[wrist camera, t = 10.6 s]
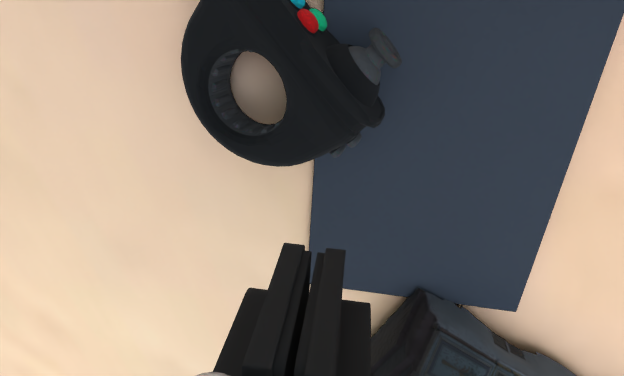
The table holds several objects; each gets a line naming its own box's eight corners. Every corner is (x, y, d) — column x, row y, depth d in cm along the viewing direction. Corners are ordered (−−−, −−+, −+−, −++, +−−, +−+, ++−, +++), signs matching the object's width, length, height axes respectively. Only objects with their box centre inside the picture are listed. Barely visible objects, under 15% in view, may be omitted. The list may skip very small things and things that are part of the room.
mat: (329, -72, 19) (328, -74, 18) (642, -59, 18) (651, -61, 17) (308, 278, 28) (306, 283, 27) (513, 306, 27) (516, 312, 26)
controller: (262, 216, 21) (423, 104, 16) (100, 25, 19) (226, -164, 14) (290, 184, 25) (427, 85, 20) (156, 21, 23) (271, -130, 18)
